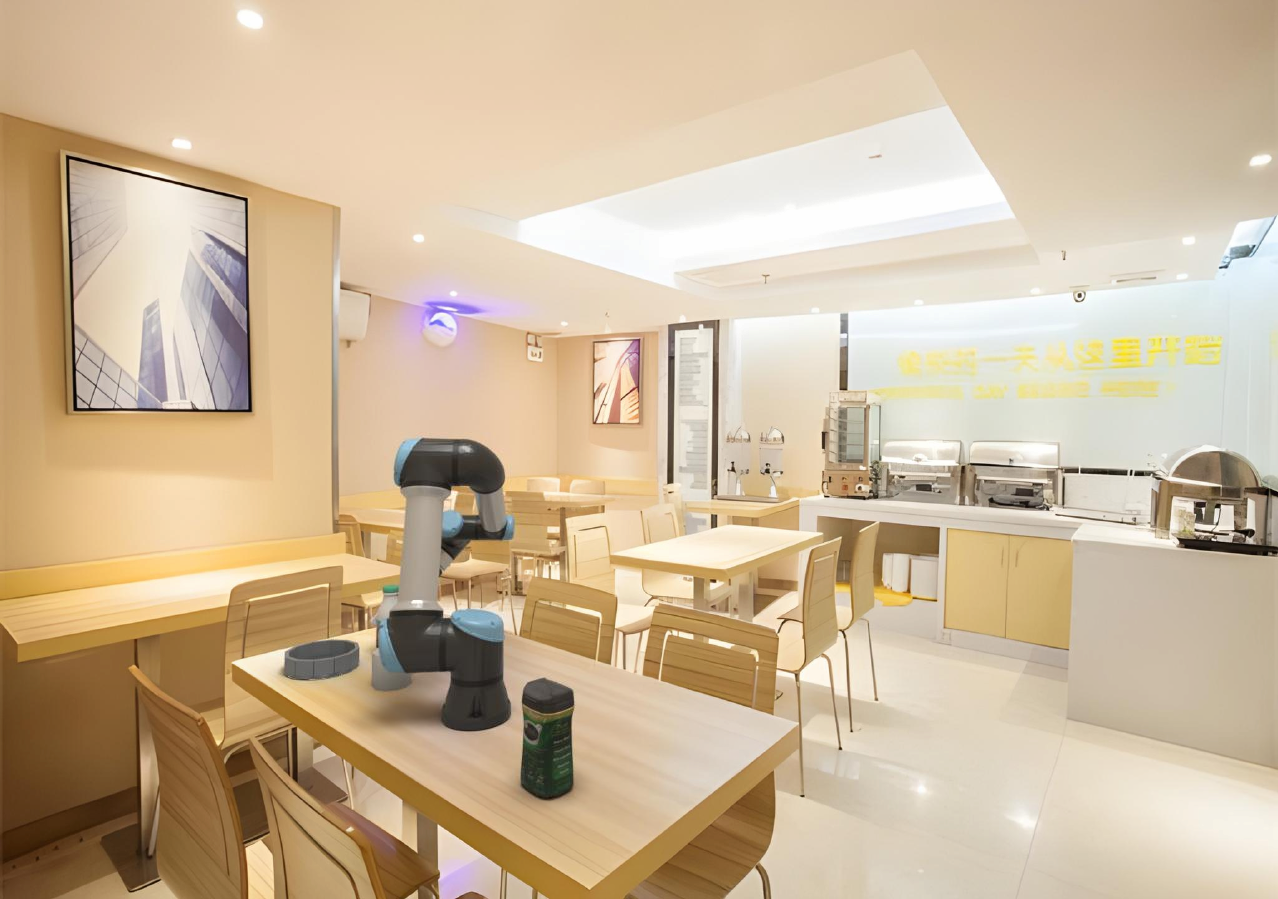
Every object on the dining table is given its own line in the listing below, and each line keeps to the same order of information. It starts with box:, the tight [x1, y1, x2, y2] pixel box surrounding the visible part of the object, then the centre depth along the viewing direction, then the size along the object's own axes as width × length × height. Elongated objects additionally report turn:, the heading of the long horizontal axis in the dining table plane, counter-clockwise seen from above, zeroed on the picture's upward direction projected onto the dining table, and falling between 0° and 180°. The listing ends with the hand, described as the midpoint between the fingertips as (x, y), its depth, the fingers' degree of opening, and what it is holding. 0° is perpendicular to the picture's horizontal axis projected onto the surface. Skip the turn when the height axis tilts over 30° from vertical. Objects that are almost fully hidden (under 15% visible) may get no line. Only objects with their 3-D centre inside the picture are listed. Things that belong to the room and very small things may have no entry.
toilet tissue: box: [371, 648, 413, 692], centre depth 164 cm, size 9×13×9 cm
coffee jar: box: [520, 677, 576, 798], centre depth 116 cm, size 10×8×19 cm
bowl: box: [283, 638, 360, 680], centre depth 173 cm, size 18×18×5 cm
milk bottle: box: [375, 584, 399, 649], centre depth 184 cm, size 8×8×20 cm
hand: (378, 627), depth 182 cm, fingers closed on milk bottle, 7 cm apart
